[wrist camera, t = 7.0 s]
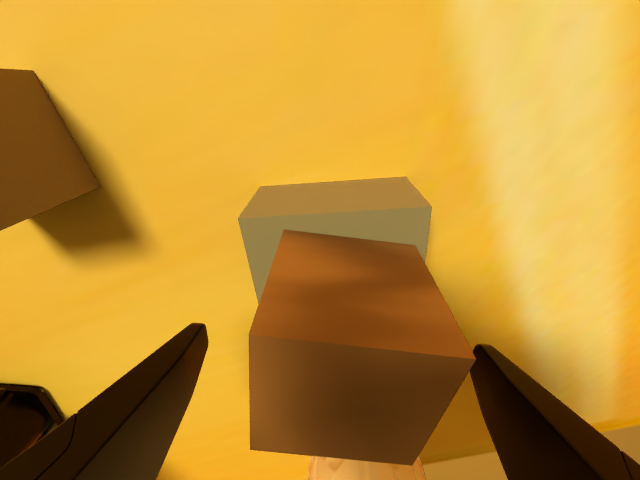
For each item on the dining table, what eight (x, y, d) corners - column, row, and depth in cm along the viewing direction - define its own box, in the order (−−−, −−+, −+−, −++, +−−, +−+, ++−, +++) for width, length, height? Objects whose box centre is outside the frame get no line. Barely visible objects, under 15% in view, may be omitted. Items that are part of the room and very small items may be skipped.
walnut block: (415, 245, 10) (475, 359, 6) (384, 337, 13) (412, 465, 8) (283, 229, 10) (248, 334, 6) (278, 325, 13) (250, 449, 8)
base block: (396, 289, 17) (414, 344, 13) (281, 294, 17) (269, 348, 14) (404, 175, 13) (431, 206, 10) (261, 184, 14) (237, 218, 10)
